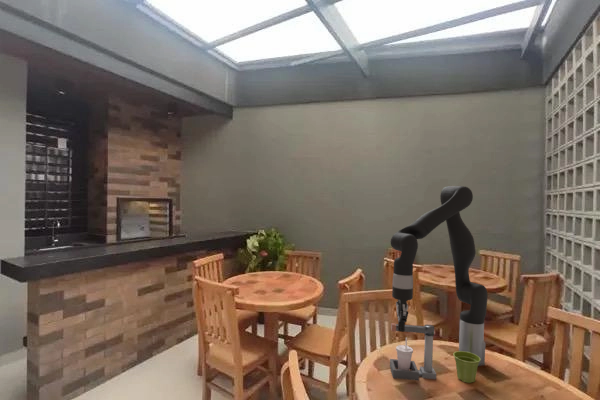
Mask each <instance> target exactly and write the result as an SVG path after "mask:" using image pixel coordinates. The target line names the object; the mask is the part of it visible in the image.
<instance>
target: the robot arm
mask: <svg viewBox="0 0 600 400" xmlns="http://www.w3.org/2000/svg"><path fill="white" fill-rule="evenodd" d="M439 196H440V197H439V199H440V203H441V204H440V205H439V206H438V207H435V208H433V209H431V210H428V211H427V212H425V213H423V214H422V215H421V216H419V217H418V218H417V219H415V220H414V221H412V223H411V224H409V225H406V226H404V227H403V228H402V229H401V228H400V229H399V230H398V231H396V232H395V233H394V234H393V235H392V237H391V239H390V245H391V247H392V249H394V250H395V251H397V252H400V256H399V257H396V258H395V259H394V261H393V273H392V274H393V275H392V287H391V289H392V291H391V292H392V294H391V295H392V298H393V299H395V300H397V301H396V302H395V306H396V317H397V320H398V322H397V324H398V330H399V331H398V332H399V333H400V332H401V333H405V332H404V331H405V325H406V323H407V322H408V316H409V311H408V310H409V304H408V302H407V301H411V300H413V298H414V297H413V296H414V275H413V274H414V271H413V270H414V266H413V265H414V262H415V260H416V256H417V251H418V249H419V243H418V240H422V239H424V238H426V237H427V236H428V235H429V234H431V233H432V231H434V230H435V229H436V228H437V227H439V225H441V224H443V223H444V222H446V227H447V232H448V237H449V238H448V239H449V245H450V251H451V256H452V262H453V270H454V279H455V280H454V283H455V291H456V297H457V298H458V300H459V301H461V302H462V303H465V304H468V305H470V308H469V310H462V311H460V313H459V314H460V315H459V334H458V335H459V337H458V351H465V352H470V353H473V354H475V355H477V356H479V357H480V359H481V360H480V362H479V364H478V367H480V366H486V365H485V363H486V362H485V361H486V341H485V340H484V333H485V318H486V315H487V307H488V295H489V294H488V290H487V288H486V286H484V285H483V284H481V283H476V282H472V281H471V280H470V279H471V278H470V275H469V274H470V273H469V271H470V267H471V265H472V263H473V261H474V259H475V256H476V254H477V253H476V245H475V238H474V236H473V234H472V233H471V231H470V229H469V228H468V227H467V225H466V224H465V222H464V221H463V219H462V216H461V214H460V212H462V211H464V210H465V209H467V208H468V207H469V206H470V205H471V204H472V202H473V200H474V198H473V197H474V195H473V191H472V190H471V189H470V188H469V187H468V186H463V185H449V186H444V187H443V188H442V190H441V192H440V195H439Z"/></svg>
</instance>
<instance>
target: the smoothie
mask: <svg viewBox="0 0 600 400" xmlns="http://www.w3.org/2000/svg"><path fill="white" fill-rule="evenodd" d="M395 351H396V355H397V356H396V357H397V358H396V359H398V368H397V369H400V370H411V369H410V363H411V361H412V356H413V353H414V349H413V348H412V347H411V346H409V345H408V337H405V344H399V345H396V347H395Z"/></svg>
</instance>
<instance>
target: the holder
mask: <svg viewBox="0 0 600 400" xmlns="http://www.w3.org/2000/svg"><path fill="white" fill-rule="evenodd" d="M423 347H424V350H423V351H424V353H423V366H419V369H418V367H417V365H416V362H415V360H411V363H410V369H409V370H400V369H398V358H396V359H395V358H390V359H389V368H390V372H391V375H392V379H398V380H399V379H400V380H410V381H411V380H412V381H420V377H421V378H422V379H428V380H436V379H437V372H436V371H435V369H434V367H433V351H434V335H433V336H428V335H425V334H424V346H423Z"/></svg>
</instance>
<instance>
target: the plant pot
mask: <svg viewBox="0 0 600 400" xmlns="http://www.w3.org/2000/svg"><path fill="white" fill-rule="evenodd" d="M452 355H453V358H454V360H455V366H456V367H455V368H456V376H457V378H458V380H460V381H462V382H464V383H468V384H471V383H475V382H476V379H477V378H476V377H477V373H478V367H479V366H478V364H479V362H480V360H481V359H480V357H479V356H477V355H475V354H473V353H470V352H465V351H459V350H457V351H454V352H453V353H452Z"/></svg>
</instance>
